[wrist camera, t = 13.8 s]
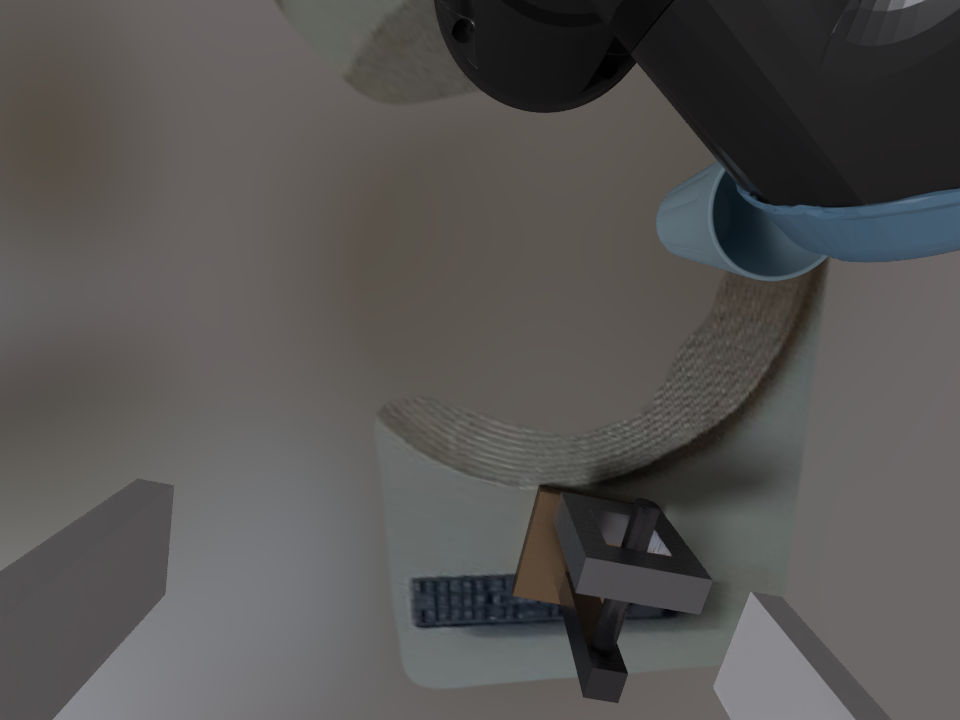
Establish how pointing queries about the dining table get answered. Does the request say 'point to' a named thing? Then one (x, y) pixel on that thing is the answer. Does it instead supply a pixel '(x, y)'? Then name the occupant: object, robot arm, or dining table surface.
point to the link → (627, 557)
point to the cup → (727, 230)
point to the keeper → (584, 615)
